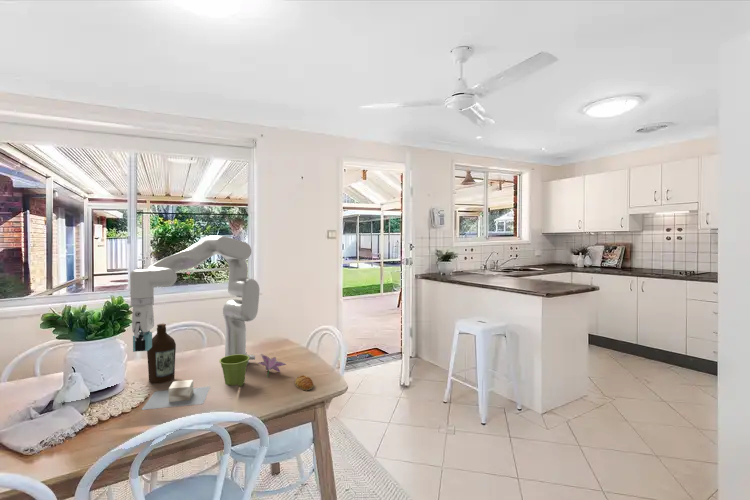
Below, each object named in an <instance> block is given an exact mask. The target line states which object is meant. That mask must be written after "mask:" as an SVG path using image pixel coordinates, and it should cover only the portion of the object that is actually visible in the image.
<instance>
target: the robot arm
mask: <svg viewBox="0 0 750 500" xmlns="http://www.w3.org/2000/svg"><path fill="white" fill-rule="evenodd" d="M214 255H216V256H217V255H218V256H219V255H220V256H222V258H223V259H224V260H225V261H226V263H227V265H228V271H229V273H228V274H229V275H228V283H227V284H228V285H227V292H228V294H229V295H230V296H232V297H236V298H241V299H236V298H235V299H229V300H227V301H226V302H225V304H224V305H223V308H222V314H223V315H222V316H223V320H224V357H225V356H229V355H236V354H243V355H247V356H249V360H248V363H247V365H249V363H250V360H252V361H253V360H256V355H254V354H248V352H247V349H246V348H247V345H246V343H247V338H246V336H247V335H246V334H247V333H246V332H247V328H246V323H245V322H252V321H254V320H255V319H256V318H257V315H258V312H259V311H258V310H259V301H260V285H259V283H258V282H257V280H256V279H253V278H250V277H249V278H248V276H249V275H248V271H249V270H248V268H249V267H248V263H247V260H248V259H249V258H250V257H251V255H252V247H251V245H250V244H249V243H247V242H246V241H242V240H238V239H235V238H232V237H229V236H225V235H208V236H205V237H203V238H202V239H200V240H199V241H197V242H196V243H194V244H192V245H190V246H189V247H187V248H186V249H184V250H181V251H179V252H177V253H173V254H171V255H169V256H166V257H164V258H161V259H160V260H158V261H156V262H155V263H153V264H151V265H150V266H148V267H147V268H143V269H142V268H141V269H140V268H139V269H134V270H131V272H130V275H129V279H130V280H129V281H130V284H129V285H130V287H129V289H130V292H129V293H130V294H129V295H130V307H131V308H132V316H131V317H132V318H131V320H132V321H131V328H132V333H133V336H135V351H137V352H145V351H144V350H145V340H144V335H145V333H146V332H151V330H152V329H154V327H155V318H154V317H155V316H154V307H153V306H154V301H155V300H154V298H155V297H154V294H155V293H154V292H155V291H154V290H155V289H154V288H157V287H158V288H166V287H171V286H173V285H174V284H175V283H176V282H177V280H178V275H177V272H178V271H183V270H190V269H192V268H196V267H198V266H199V265H201V264H202V263H204V262H206V261H207V260H208V259H210V258H211V257H213V256H214ZM140 334H142V336H141V335H140Z"/></svg>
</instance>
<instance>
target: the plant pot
mask: <svg viewBox="0 0 750 500" xmlns="http://www.w3.org/2000/svg"><path fill="white" fill-rule="evenodd" d="M247 355H248V354H247ZM247 355H243V354H236V355H229V356H225V355H224V356H222V357H221V358H220V359H219V363H220V365H221V368H222V373H223V378H224V383H225V385H228V386H236V385H238V387H242V386H244V384H245V379H246V371H247V366H248V364H249V363H248V360H249V356H247ZM249 361H250V360H249ZM247 363H248V364H247Z"/></svg>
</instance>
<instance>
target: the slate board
mask: <svg viewBox="0 0 750 500" xmlns="http://www.w3.org/2000/svg"><path fill="white" fill-rule="evenodd" d="M210 388H211V386H200V387H193V394H192V396H191V398H190V400H184V401H174V402H169V389H168V390H167V389H166V390H155V391H154V392H153V393H152V395H151V396H150V397H149V399H148V400H147V401H146V403H145V404H144V405H143V407H142V409H141V411H143V410H144V411H145V410H153V409H154V410H155V409H156V410H157V409H165V408H174V407H175V408H177V407H185V406H187V407H188V406H196V405H197V406H198V405H204V403H205V401H206V398H207V396H208V393H209V392H210Z"/></svg>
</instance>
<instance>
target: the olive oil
mask: <svg viewBox="0 0 750 500" xmlns="http://www.w3.org/2000/svg"><path fill="white" fill-rule="evenodd" d="M166 326H167V325H166V323H158V324H157V325H156V327H157V328H156V334H155V335H154V336H152V348H151V349H149V350H148V351H146V355H147V368H148V383H150V384H156V385H157V384H164V383H168V382H171V381H172V380H175V374H176V373H175V372H176V371H175V369H176V368H175V367H176V349H177V347H176V346H177V345H176V341H175V339H174V338H173V337H172V336H171V335H169V334H168V333H167V327H166Z"/></svg>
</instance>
